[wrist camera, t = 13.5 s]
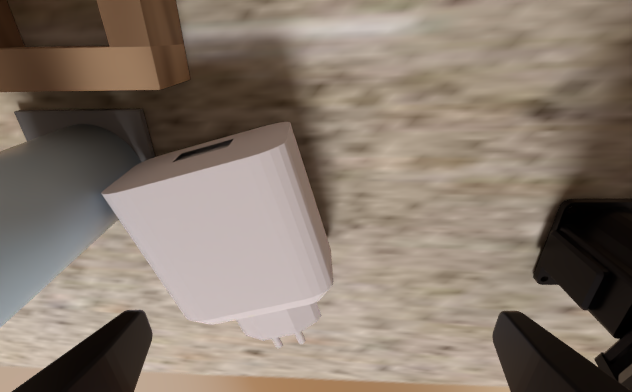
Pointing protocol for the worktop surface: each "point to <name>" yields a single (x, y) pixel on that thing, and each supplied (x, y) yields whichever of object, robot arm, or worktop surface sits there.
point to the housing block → (101, 53)
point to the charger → (232, 231)
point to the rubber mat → (117, 121)
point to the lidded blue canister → (54, 205)
